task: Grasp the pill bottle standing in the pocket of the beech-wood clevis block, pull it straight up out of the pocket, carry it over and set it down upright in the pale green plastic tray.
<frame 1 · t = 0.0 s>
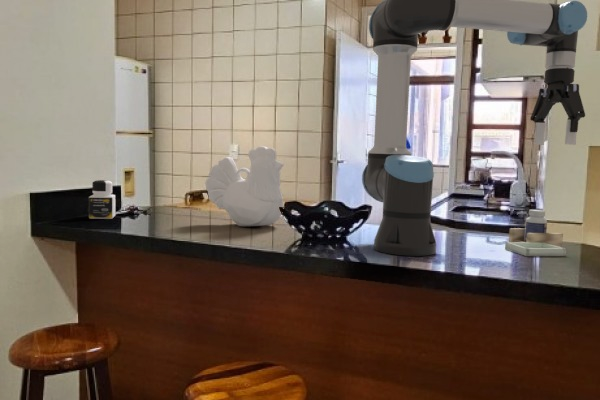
hand: (553, 144, 151), 28 cm above the countertop, fingers open, 13 cm apart
medicine bottle: (102, 217, 171), on the countertop
pill bottle: (534, 246, 145), resting in clevis block
tray: (534, 252, 134), on the countertop
decorative rooster: (244, 225, 165), on the countertop
clevis block: (534, 245, 145), on the countertop
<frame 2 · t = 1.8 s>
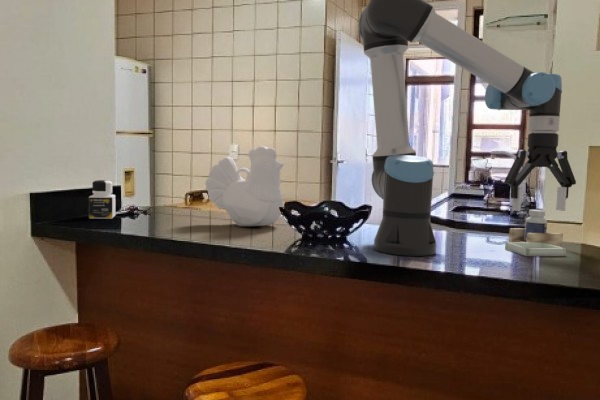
hand: (538, 210, 145), 10 cm above the countertop, fingers open, 13 cm apart
nothing on the countertop moved.
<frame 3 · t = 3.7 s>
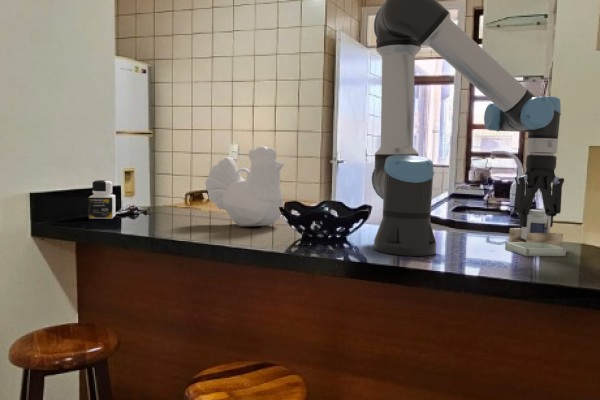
hand: (535, 238, 145), 2 cm above the countertop, fingers closed on pill bottle, 5 cm apart
pill bottle: (534, 245, 145), resting in clevis block, touching gripper
everything else where it was.
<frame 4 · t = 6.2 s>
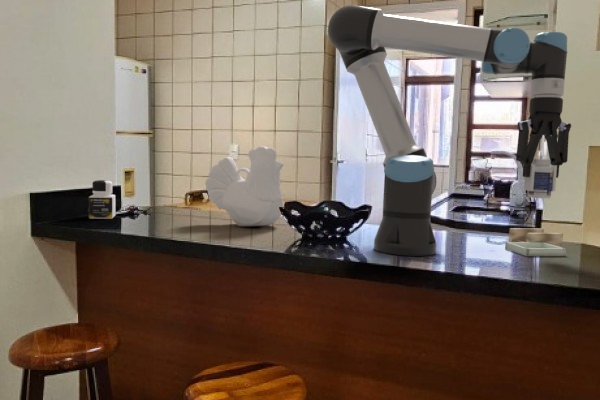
hand: (539, 190, 133), 16 cm above the countertop, fingers closed on pill bottle, 5 cm apart
pill bottle: (538, 198, 133), point 14 cm above the countertop, touching gripper
everything else where it was.
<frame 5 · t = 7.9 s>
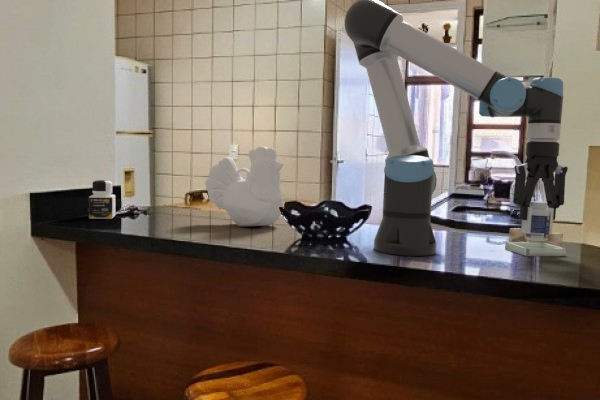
hand: (536, 232, 134), 5 cm above the countertop, fingers closed on pill bottle, 5 cm apart
pill bottle: (536, 240, 134), point 3 cm above the countertop, touching gripper
everything else where it was.
when the fingers open (4 cm above the countertop, at t = 8.9 s): pill bottle drops 1 cm, resting on tray.
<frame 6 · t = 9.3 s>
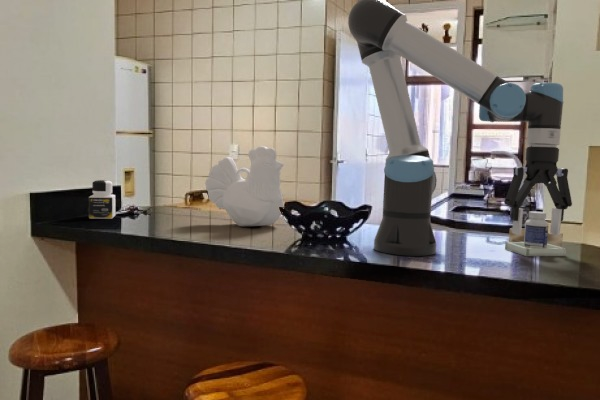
hand: (535, 233, 134), 5 cm above the countertop, fingers open, 10 cm apart
pill bottle: (534, 250, 134), resting on tray
everything else where it was.
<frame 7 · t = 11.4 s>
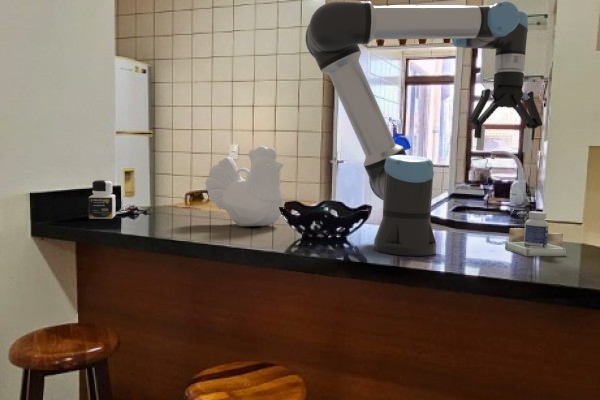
hand: (503, 151, 144), 25 cm above the countertop, fingers open, 13 cm apart
nothing on the countertop moved.
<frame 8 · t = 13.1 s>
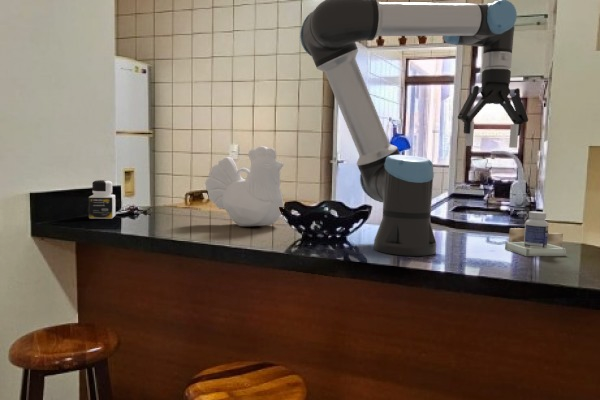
hand: (491, 146, 148), 27 cm above the countertop, fingers open, 13 cm apart
nothing on the countertop moved.
at the end: pill bottle inside the target area on the tray (0.1 cm from its centre), point 0.4 cm above the tray's base; pill bottle tilted 0°; the gripper is holding nothing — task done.
